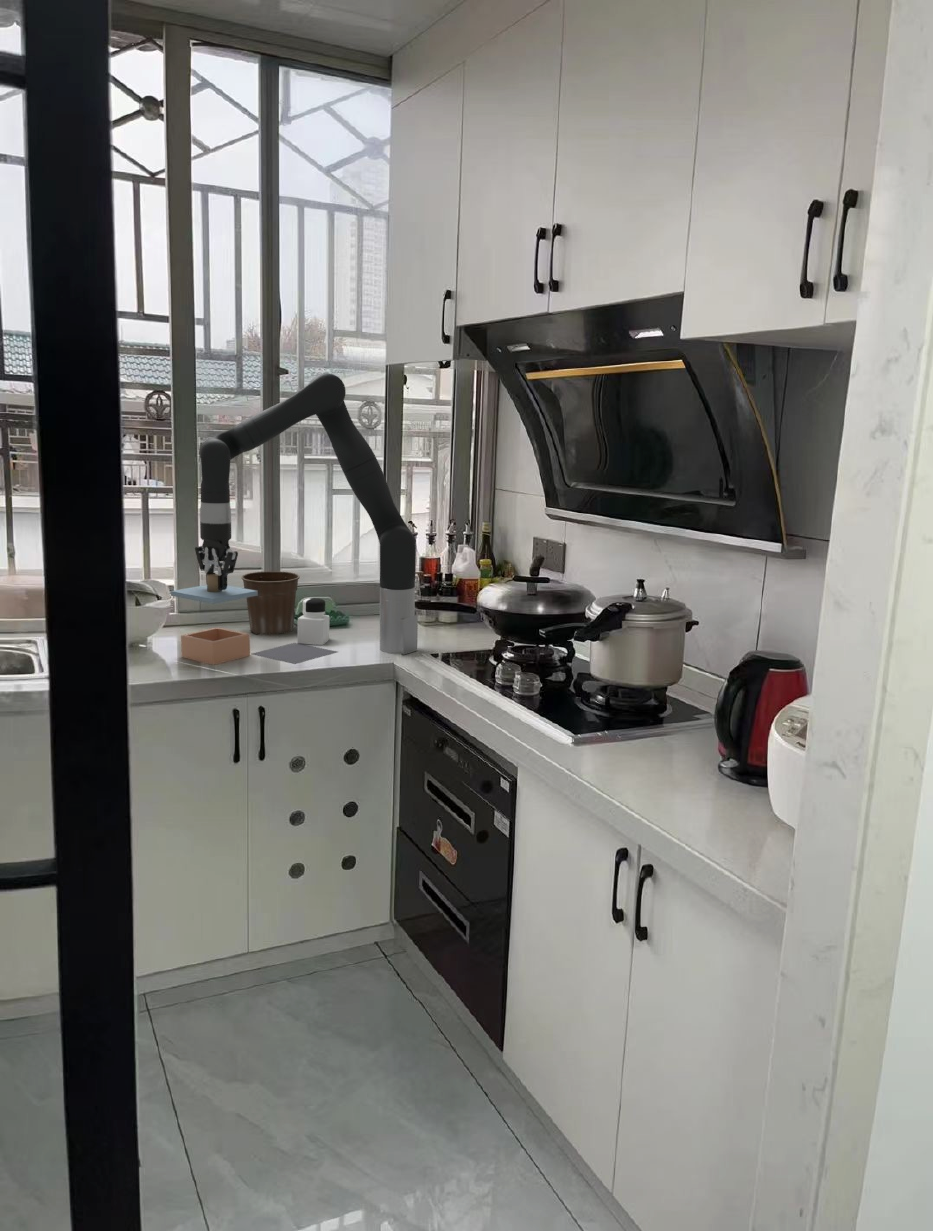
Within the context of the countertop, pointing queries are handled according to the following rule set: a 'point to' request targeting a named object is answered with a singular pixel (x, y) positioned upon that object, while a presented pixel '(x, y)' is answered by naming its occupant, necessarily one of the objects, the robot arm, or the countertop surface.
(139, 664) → the countertop surface
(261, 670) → the countertop surface
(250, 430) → the robot arm
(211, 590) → the lid
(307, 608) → the medicine bottle
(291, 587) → the plant pot
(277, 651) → the mat
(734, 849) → the countertop surface
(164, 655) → the countertop surface
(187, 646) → the square orange box
